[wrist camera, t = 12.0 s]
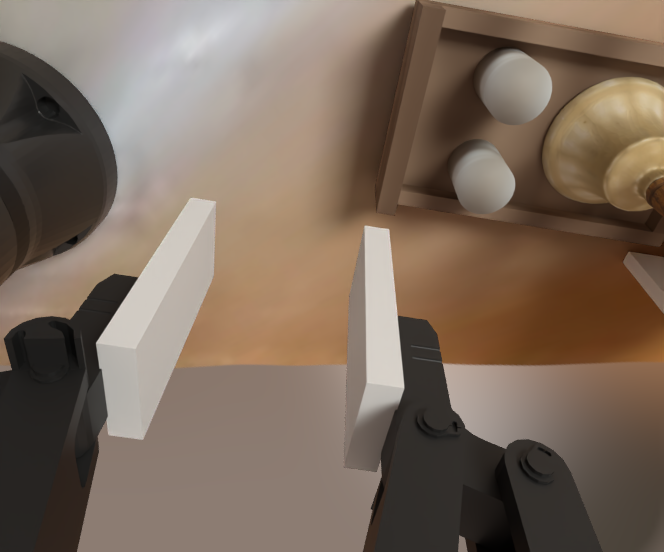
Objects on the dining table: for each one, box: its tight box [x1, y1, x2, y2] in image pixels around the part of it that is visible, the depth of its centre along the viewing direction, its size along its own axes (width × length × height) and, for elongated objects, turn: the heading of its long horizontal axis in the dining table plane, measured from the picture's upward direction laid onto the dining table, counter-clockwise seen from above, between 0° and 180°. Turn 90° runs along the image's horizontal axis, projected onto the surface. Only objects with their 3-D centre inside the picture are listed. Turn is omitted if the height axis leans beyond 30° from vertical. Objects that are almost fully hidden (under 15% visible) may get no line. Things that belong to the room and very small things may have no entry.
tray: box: [375, 0, 664, 247], centre depth 31 cm, size 20×12×5 cm, turn 81°
